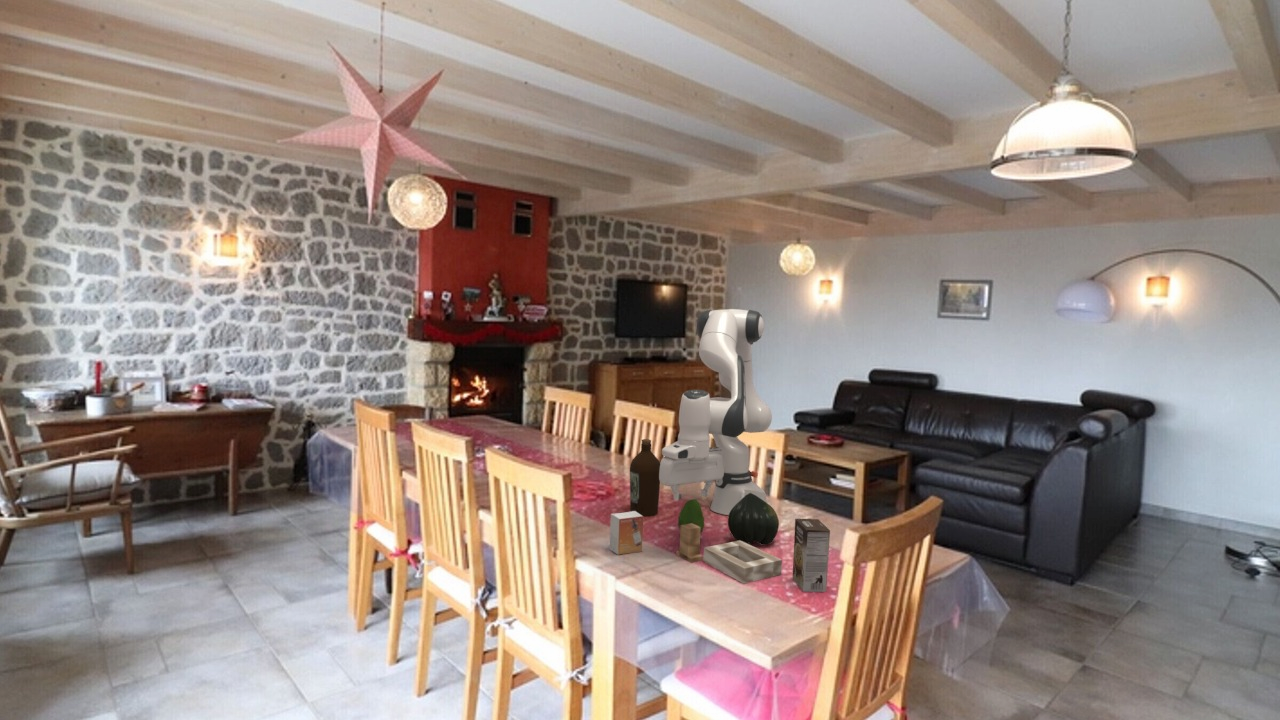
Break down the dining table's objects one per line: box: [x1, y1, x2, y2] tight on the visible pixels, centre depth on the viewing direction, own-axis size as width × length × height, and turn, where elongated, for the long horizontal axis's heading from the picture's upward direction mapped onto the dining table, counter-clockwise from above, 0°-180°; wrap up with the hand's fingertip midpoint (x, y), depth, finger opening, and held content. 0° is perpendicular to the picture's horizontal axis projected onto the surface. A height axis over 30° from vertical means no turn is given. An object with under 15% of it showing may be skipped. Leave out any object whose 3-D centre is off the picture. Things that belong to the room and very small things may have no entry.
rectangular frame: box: [702, 540, 783, 584], centre depth 187 cm, size 13×17×4 cm
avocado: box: [677, 499, 705, 535], centre depth 210 cm, size 8×8×12 cm
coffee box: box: [792, 518, 831, 593], centre depth 177 cm, size 9×6×16 cm
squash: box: [727, 493, 780, 546], centre depth 209 cm, size 14×15×15 cm
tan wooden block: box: [675, 523, 704, 564], centre depth 194 cm, size 4×7×9 cm, turn 32°
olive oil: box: [629, 438, 661, 518], centre depth 233 cm, size 11×11×25 cm
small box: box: [609, 511, 644, 556], centre depth 198 cm, size 8×6×10 cm
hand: (691, 497), depth 192 cm, fingers open, 8 cm apart
